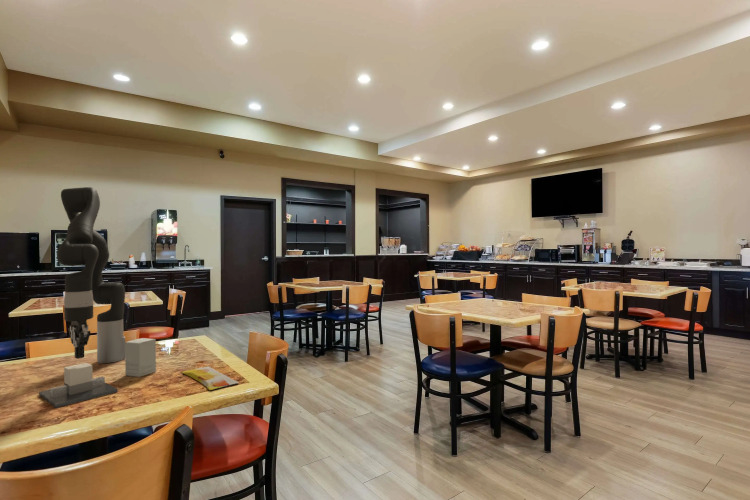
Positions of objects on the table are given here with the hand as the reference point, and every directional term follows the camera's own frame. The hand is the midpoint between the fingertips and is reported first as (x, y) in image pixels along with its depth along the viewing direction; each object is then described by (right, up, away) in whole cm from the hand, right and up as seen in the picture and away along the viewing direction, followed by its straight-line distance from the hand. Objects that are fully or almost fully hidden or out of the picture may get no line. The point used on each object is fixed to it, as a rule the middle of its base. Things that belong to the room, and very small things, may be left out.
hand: (79, 357), depth 124 cm
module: (0, -11, 0) cm, 11 cm away
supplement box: (+8, -12, +20) cm, 25 cm away
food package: (+36, -12, +14) cm, 41 cm away
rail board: (0, -12, 0) cm, 12 cm away
